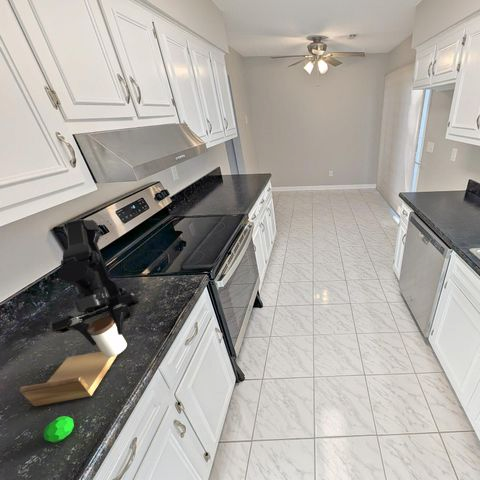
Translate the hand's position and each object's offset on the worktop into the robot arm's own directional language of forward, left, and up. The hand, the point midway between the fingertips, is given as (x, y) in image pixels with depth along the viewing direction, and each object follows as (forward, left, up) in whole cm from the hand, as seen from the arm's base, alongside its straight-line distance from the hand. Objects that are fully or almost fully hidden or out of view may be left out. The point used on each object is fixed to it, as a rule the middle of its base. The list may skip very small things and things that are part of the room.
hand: (107, 339), depth 71 cm
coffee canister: (-1, 0, -5) cm, 5 cm away
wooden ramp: (-4, -12, -12) cm, 17 cm away
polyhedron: (+14, -11, -12) cm, 22 cm away
